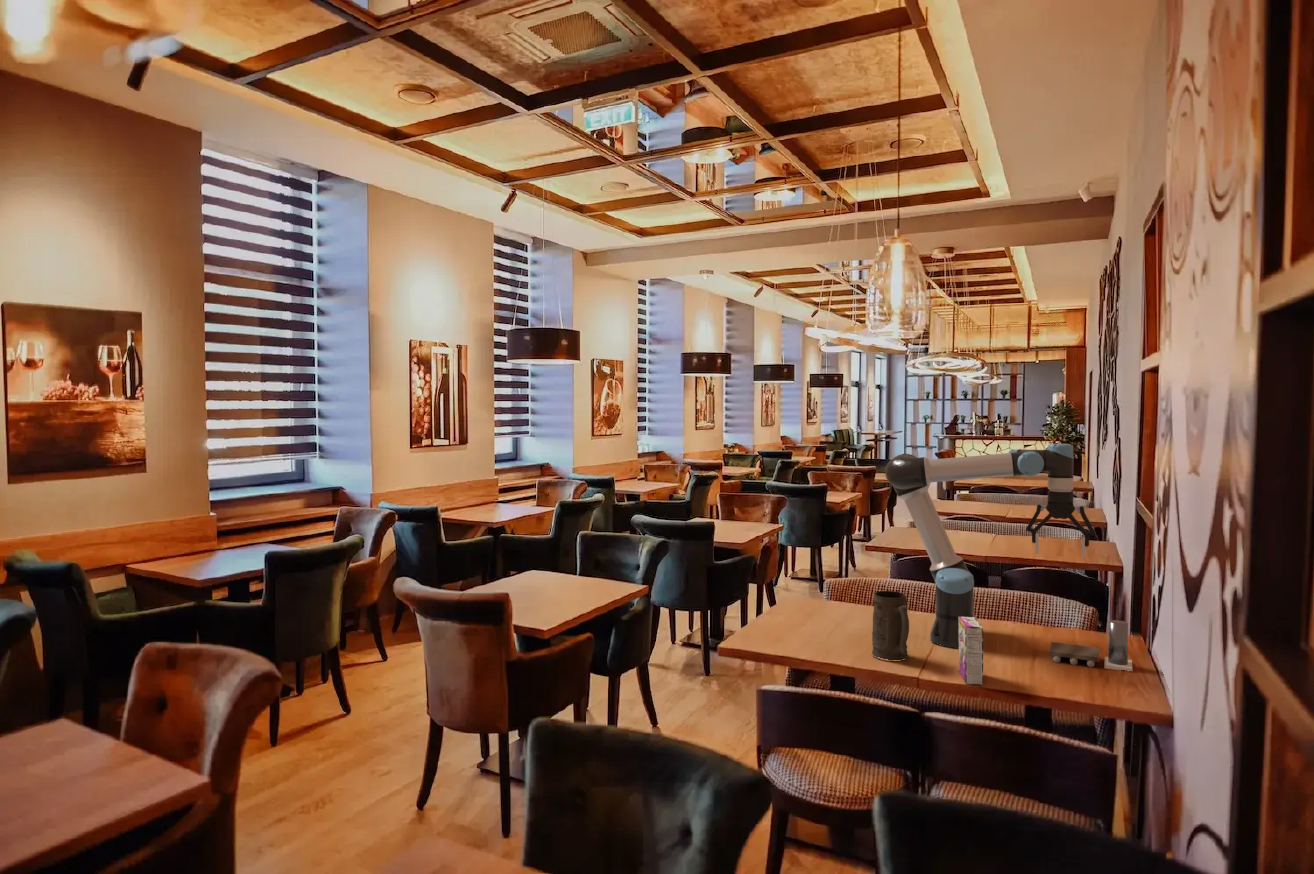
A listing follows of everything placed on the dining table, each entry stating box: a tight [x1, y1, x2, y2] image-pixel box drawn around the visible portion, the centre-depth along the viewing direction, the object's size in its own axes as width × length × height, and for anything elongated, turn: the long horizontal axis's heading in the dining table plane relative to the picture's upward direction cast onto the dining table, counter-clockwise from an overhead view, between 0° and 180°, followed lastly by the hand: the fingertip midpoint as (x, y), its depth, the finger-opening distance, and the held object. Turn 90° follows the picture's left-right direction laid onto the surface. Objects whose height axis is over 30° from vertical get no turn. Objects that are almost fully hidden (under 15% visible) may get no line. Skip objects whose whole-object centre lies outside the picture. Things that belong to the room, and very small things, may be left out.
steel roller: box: [1107, 619, 1129, 665], centre depth 230 cm, size 5×5×12 cm
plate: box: [1104, 656, 1133, 672], centre depth 230 cm, size 7×9×1 cm
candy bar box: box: [958, 616, 984, 686], centre depth 220 cm, size 11×5×16 cm, turn 168°
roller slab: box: [1048, 641, 1100, 668], centre depth 236 cm, size 13×11×3 cm
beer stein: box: [871, 590, 910, 660], centre depth 238 cm, size 15×11×20 cm
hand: (1060, 554), depth 255 cm, fingers open, 13 cm apart
